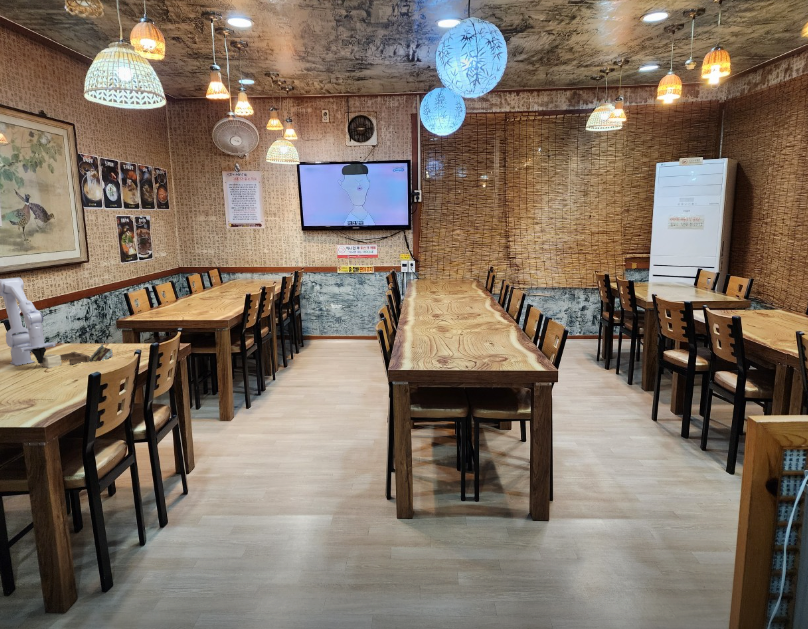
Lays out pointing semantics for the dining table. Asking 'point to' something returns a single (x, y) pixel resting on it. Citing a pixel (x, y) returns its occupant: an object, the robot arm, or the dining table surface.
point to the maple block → (51, 360)
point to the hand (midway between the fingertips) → (40, 363)
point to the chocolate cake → (101, 354)
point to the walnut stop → (75, 357)
